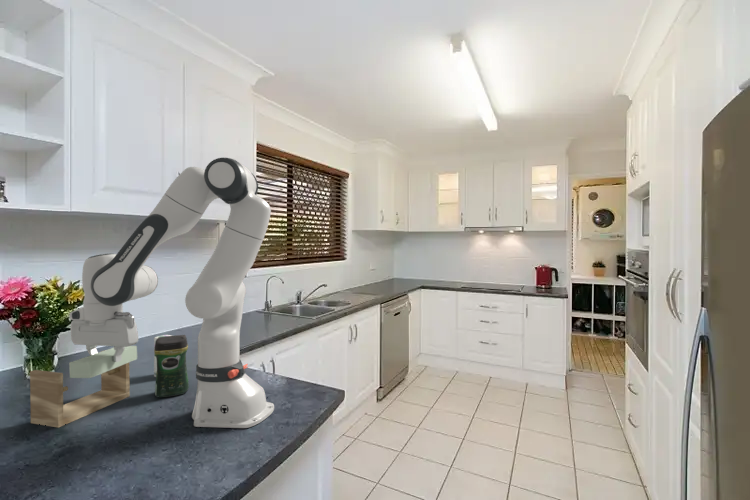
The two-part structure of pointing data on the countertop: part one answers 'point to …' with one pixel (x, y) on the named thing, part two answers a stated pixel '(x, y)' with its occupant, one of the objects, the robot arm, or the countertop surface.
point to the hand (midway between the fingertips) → (105, 360)
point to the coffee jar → (171, 366)
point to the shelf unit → (50, 400)
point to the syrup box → (155, 355)
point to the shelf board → (100, 363)
